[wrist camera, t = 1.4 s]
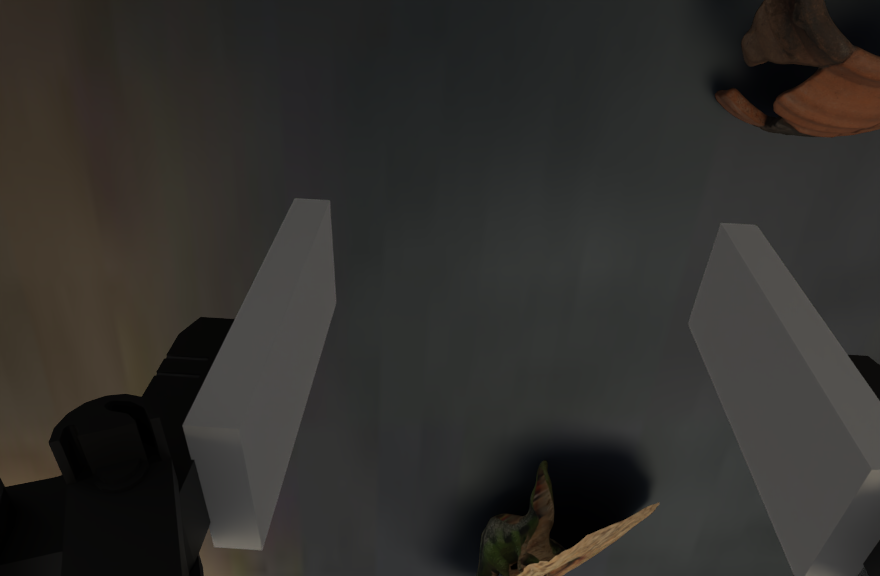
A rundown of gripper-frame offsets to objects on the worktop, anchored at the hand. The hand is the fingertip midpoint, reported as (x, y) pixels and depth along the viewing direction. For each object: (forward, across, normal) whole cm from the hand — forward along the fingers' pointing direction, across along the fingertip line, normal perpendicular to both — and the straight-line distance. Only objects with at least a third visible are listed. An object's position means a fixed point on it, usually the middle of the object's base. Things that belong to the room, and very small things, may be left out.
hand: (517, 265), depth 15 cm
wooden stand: (+18, +4, -30) cm, 35 cm away
